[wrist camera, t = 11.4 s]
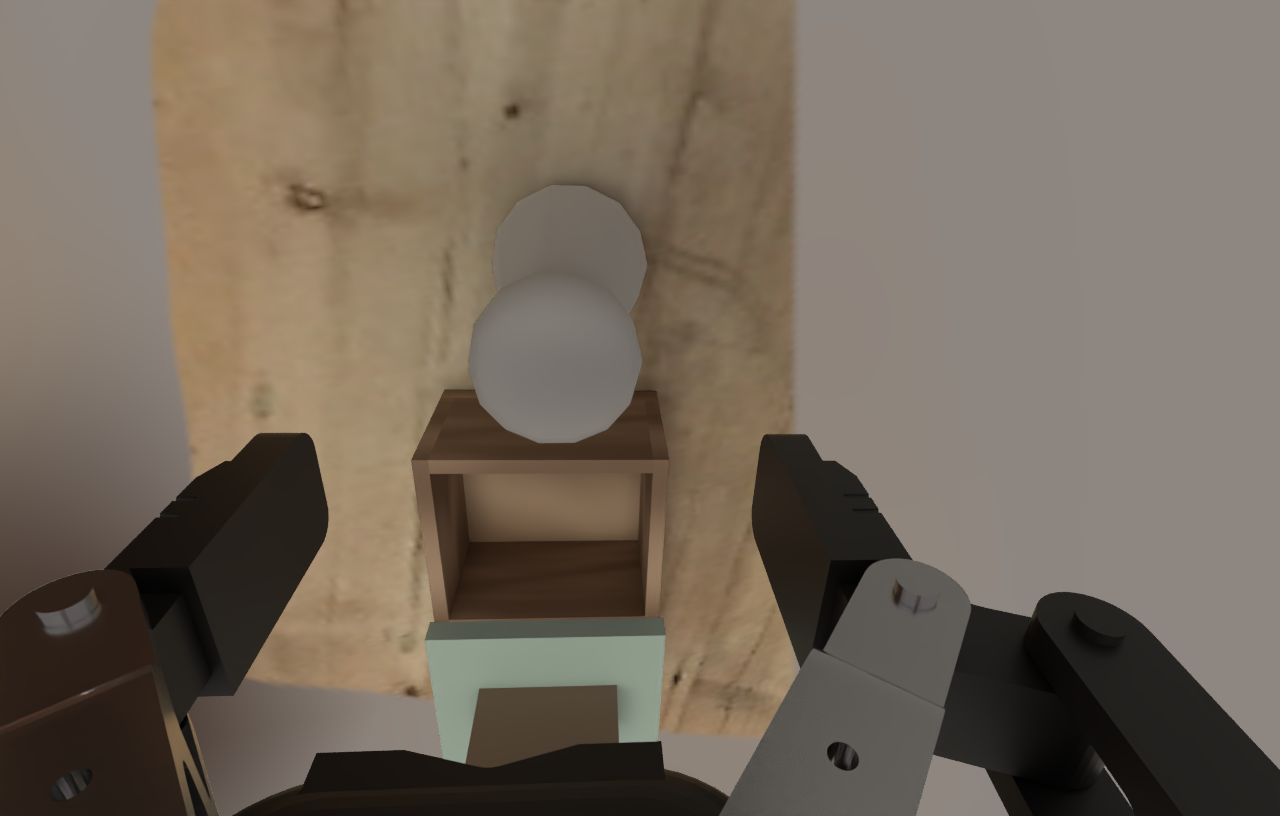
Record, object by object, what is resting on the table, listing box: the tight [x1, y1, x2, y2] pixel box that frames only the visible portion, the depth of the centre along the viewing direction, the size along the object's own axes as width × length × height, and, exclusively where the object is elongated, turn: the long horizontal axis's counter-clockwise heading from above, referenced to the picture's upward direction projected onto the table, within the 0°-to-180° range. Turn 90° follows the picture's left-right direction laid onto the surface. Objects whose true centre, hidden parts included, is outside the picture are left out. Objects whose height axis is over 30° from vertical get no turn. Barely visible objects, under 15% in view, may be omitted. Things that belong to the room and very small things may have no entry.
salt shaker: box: [469, 185, 647, 443], centre depth 21 cm, size 6×6×13 cm
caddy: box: [411, 390, 669, 622], centre depth 31 cm, size 17×10×6 cm, turn 178°
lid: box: [425, 618, 666, 768], centre depth 28 cm, size 8×10×5 cm
